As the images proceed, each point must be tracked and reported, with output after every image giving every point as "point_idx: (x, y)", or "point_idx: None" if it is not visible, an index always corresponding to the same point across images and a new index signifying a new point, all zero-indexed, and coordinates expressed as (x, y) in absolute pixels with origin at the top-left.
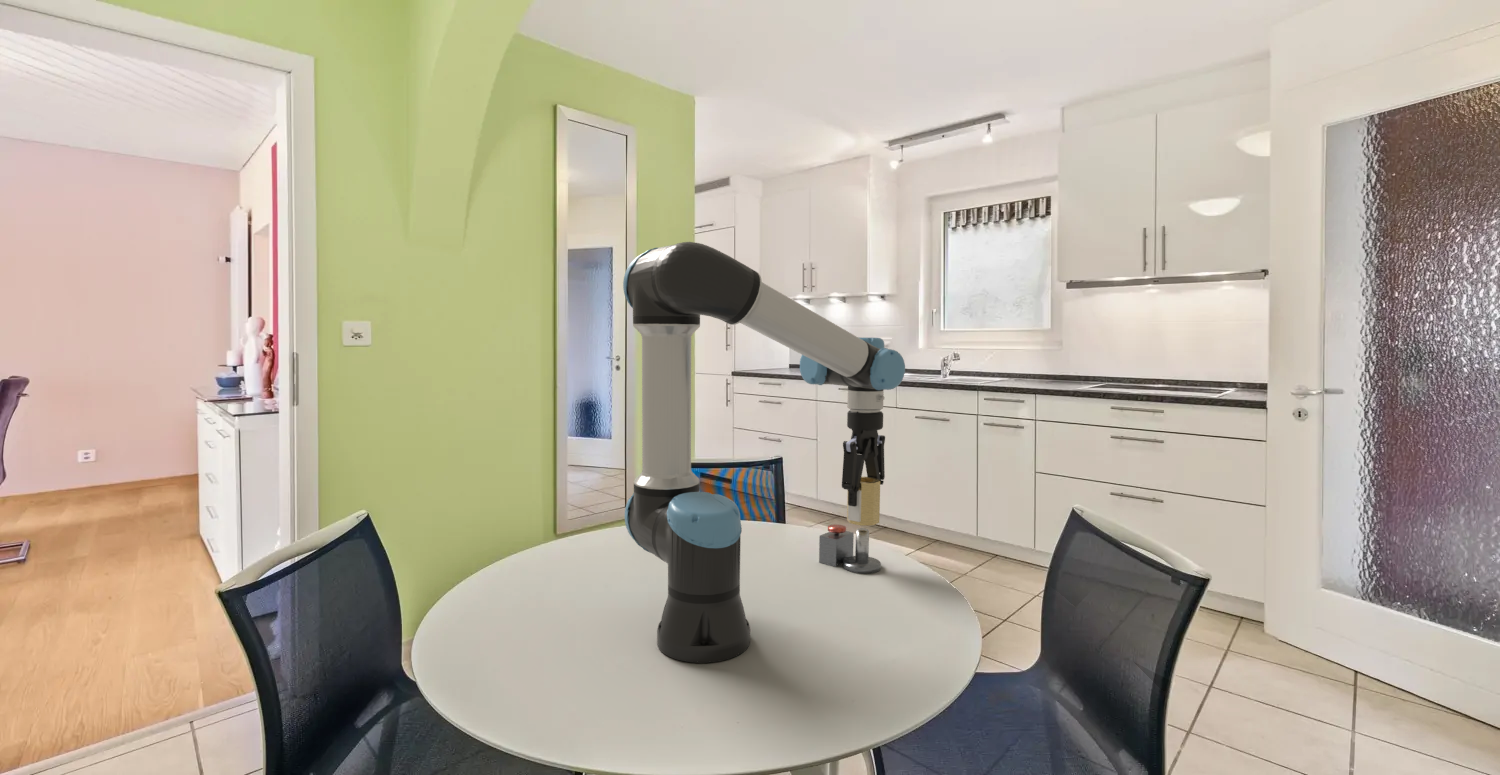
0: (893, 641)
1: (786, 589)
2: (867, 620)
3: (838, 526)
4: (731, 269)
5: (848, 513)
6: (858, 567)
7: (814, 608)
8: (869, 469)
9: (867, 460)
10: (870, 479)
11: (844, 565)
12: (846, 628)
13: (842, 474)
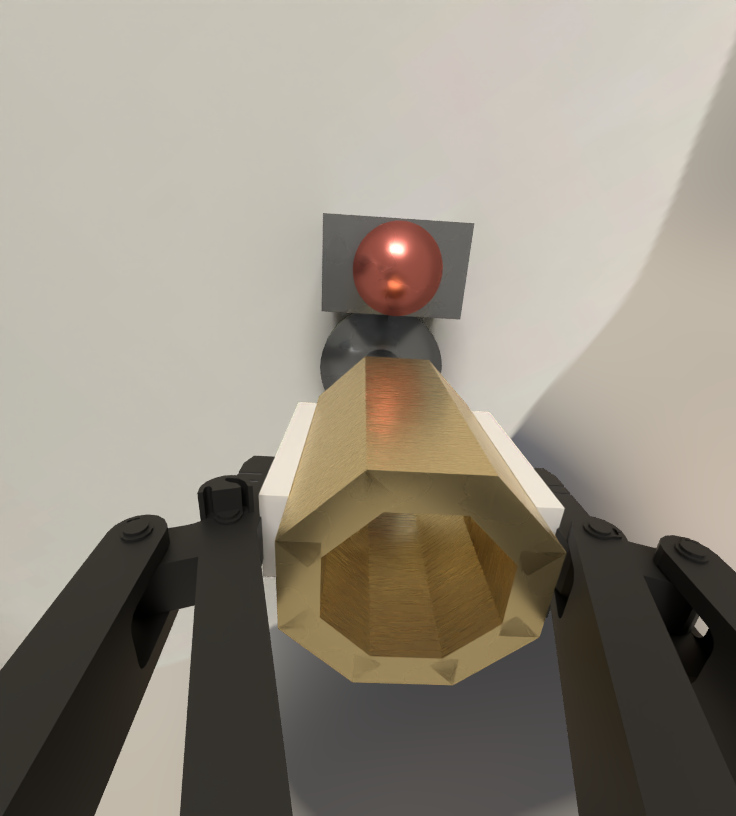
0: (52, 592)
1: (54, 276)
2: (85, 526)
3: (410, 272)
4: None
5: (294, 417)
6: (326, 386)
7: (28, 411)
8: (586, 658)
9: (620, 796)
10: (503, 598)
11: (333, 330)
12: (15, 512)
13: (35, 626)
